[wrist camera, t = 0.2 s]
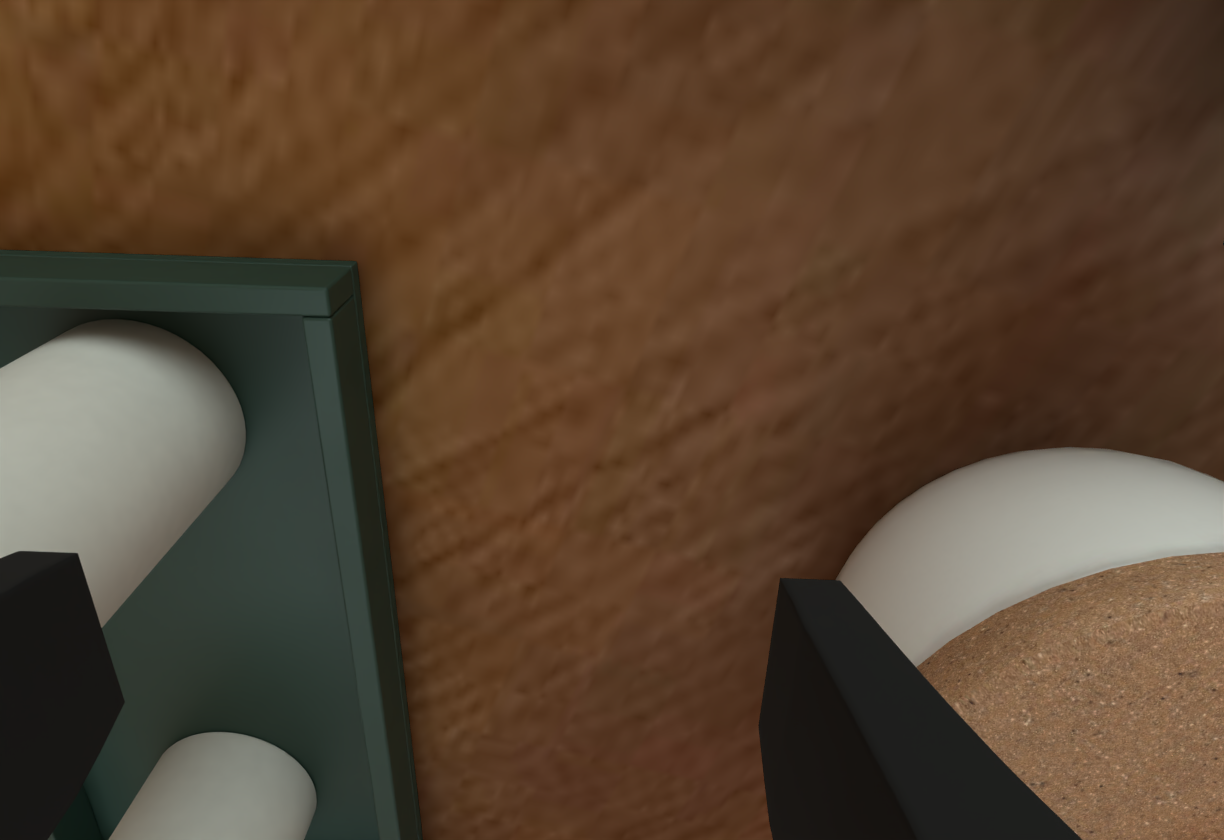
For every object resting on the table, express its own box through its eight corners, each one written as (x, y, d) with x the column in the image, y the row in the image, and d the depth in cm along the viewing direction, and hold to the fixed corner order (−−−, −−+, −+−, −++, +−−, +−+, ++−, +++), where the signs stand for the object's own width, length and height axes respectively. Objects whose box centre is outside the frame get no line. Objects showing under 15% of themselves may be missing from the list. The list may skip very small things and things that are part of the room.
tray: (426, 863, 26) (411, 924, 24) (101, 851, 26) (64, 910, 24) (357, 260, 17) (327, 287, 15) (-128, 244, 17) (-212, 270, 15)
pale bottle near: (262, 506, 19) (44, 796, 12) (68, 499, 19) (-262, 784, 12) (226, 322, 17) (-59, 539, 10) (10, 314, 17) (-426, 526, 10)
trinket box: (1319, 520, 19) (1846, 909, 11) (989, 781, 23) (1188, 1210, 15) (988, 273, 17) (1338, 530, 9) (683, 612, 21) (718, 1012, 13)
